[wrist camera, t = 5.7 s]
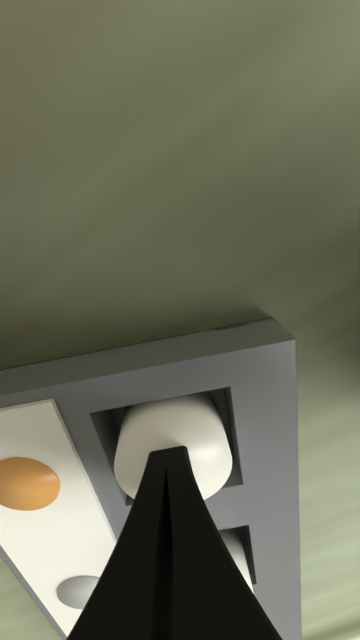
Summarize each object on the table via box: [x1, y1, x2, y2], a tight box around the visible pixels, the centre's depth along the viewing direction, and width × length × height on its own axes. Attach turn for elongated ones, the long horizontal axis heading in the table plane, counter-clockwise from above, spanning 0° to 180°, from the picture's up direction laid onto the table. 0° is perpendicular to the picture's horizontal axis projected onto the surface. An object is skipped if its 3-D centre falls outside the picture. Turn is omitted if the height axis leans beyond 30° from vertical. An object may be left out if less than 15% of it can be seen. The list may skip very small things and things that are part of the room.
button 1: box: [114, 391, 232, 500], centre depth 11 cm, size 4×4×2 cm
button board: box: [0, 318, 302, 640], centre depth 15 cm, size 14×24×2 cm, turn 10°
